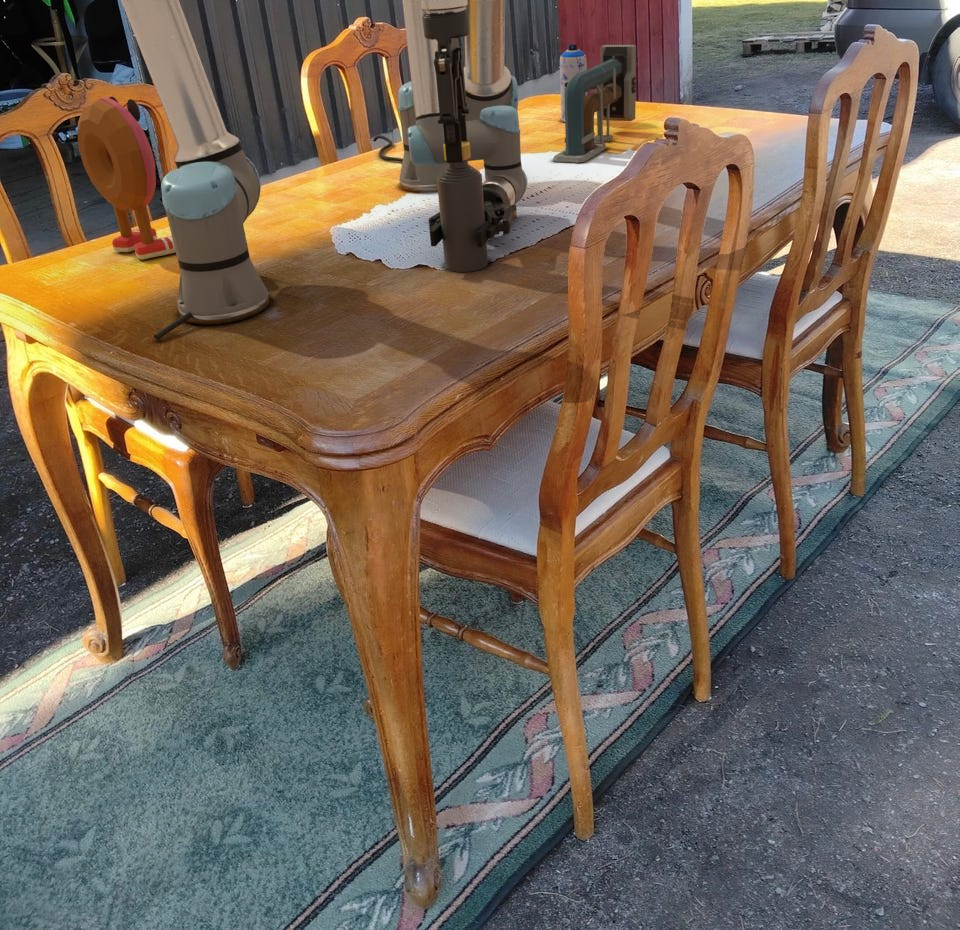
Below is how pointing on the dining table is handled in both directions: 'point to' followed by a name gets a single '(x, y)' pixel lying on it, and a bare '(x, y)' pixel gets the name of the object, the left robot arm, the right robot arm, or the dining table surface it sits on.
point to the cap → (465, 150)
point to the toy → (122, 171)
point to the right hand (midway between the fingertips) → (455, 239)
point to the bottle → (461, 217)
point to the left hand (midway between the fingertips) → (457, 158)
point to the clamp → (599, 102)
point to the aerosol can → (570, 70)
